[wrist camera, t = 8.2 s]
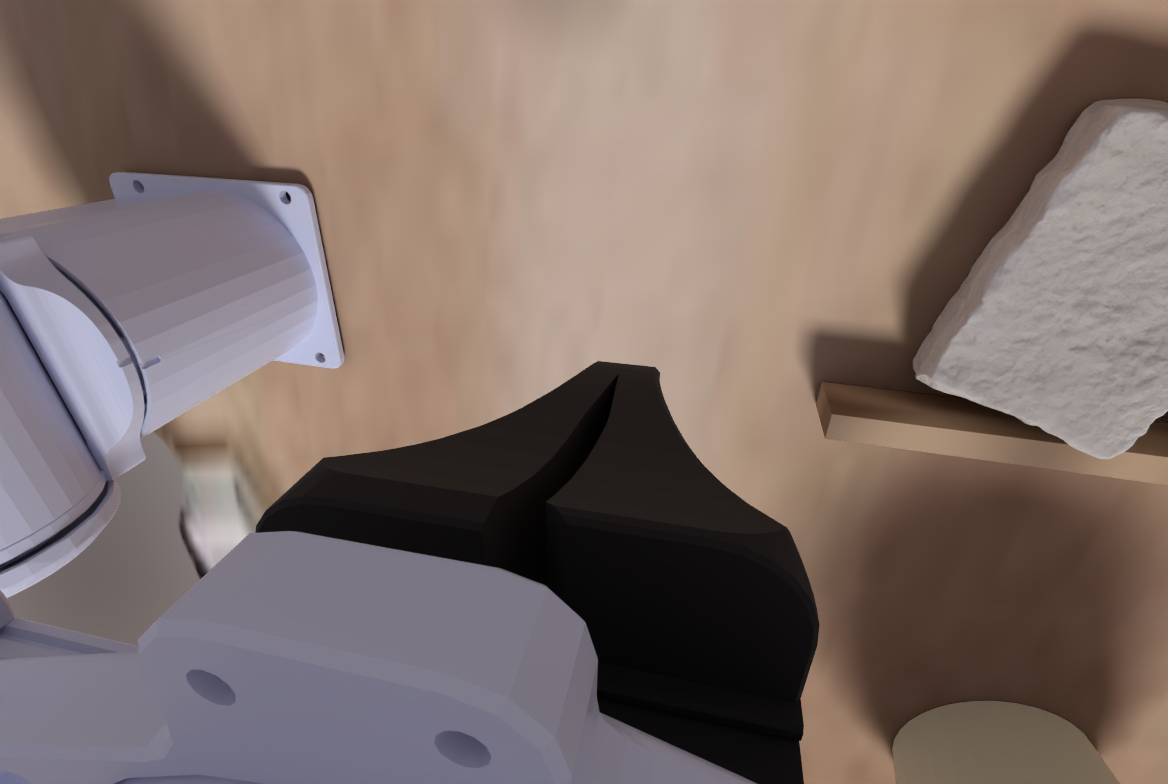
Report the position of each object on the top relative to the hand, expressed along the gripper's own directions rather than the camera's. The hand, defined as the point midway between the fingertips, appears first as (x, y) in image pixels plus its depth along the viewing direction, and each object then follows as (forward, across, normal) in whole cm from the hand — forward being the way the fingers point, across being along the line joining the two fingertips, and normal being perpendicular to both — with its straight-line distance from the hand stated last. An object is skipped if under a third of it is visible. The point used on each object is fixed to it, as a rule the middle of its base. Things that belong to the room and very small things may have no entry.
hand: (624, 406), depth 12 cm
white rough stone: (+11, -13, -1) cm, 17 cm away
